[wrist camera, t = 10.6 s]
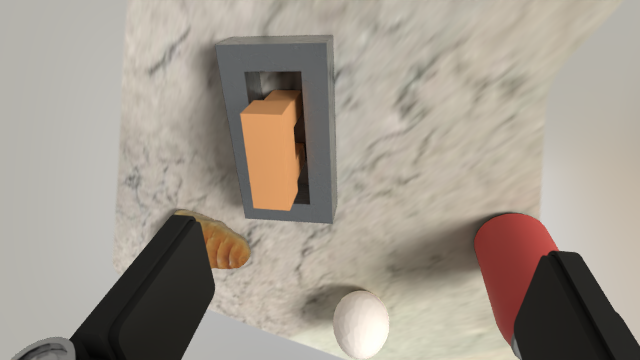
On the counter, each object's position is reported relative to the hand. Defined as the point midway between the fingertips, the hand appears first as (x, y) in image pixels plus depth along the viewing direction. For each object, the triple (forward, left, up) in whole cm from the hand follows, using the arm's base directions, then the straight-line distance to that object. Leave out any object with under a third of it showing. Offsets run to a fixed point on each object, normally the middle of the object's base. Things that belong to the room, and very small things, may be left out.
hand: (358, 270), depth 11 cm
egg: (+26, -1, -23) cm, 35 cm away
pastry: (+19, -19, -24) cm, 36 cm away
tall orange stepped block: (+5, -8, -23) cm, 25 cm away
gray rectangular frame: (+5, -8, -23) cm, 25 cm away
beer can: (+16, +13, -23) cm, 31 cm away
